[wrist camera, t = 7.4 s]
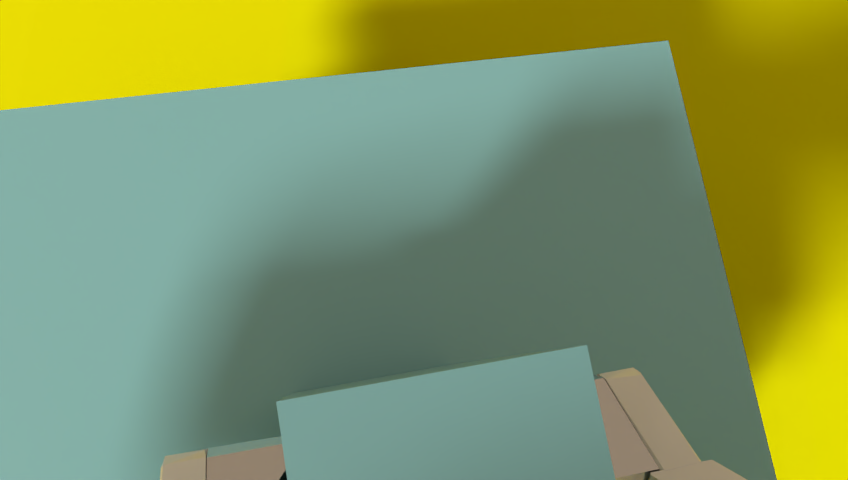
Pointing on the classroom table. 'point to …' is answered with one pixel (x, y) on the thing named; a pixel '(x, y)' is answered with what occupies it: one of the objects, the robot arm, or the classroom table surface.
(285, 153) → the lid
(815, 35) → the classroom table surface
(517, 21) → the classroom table surface
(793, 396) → the classroom table surface
